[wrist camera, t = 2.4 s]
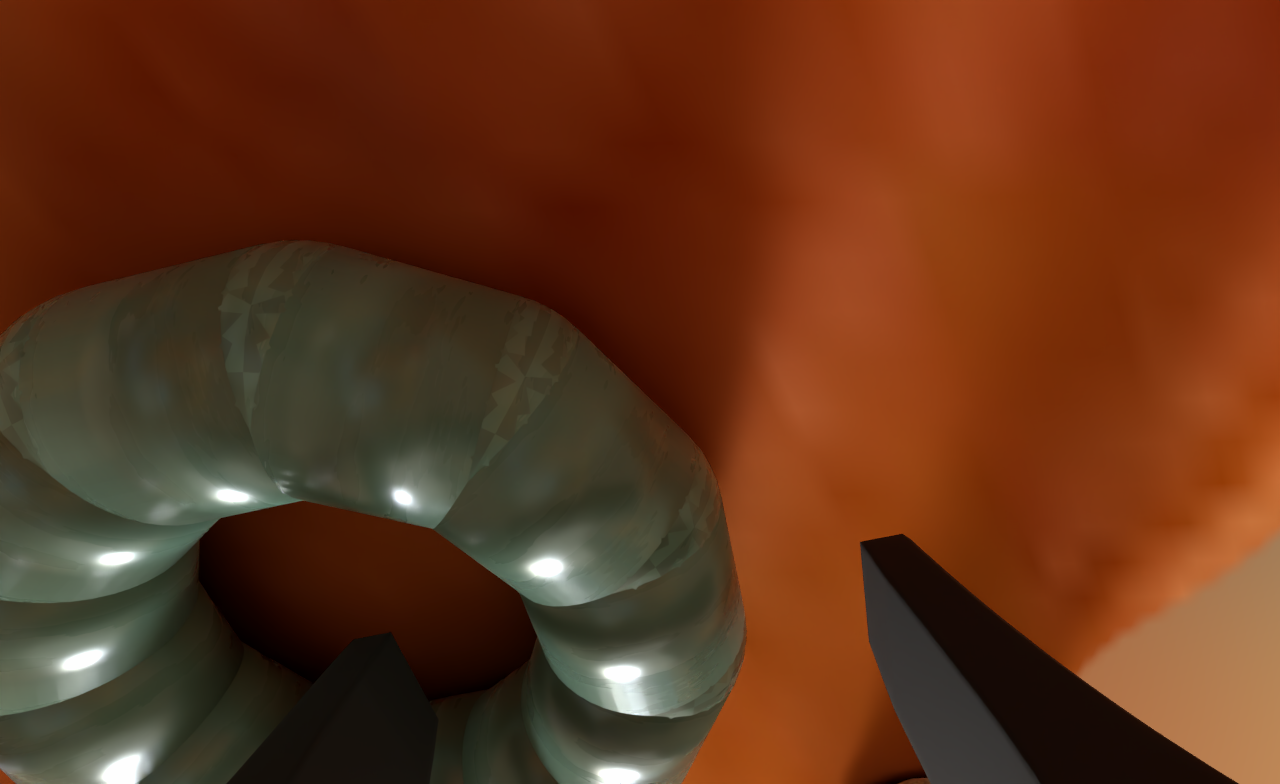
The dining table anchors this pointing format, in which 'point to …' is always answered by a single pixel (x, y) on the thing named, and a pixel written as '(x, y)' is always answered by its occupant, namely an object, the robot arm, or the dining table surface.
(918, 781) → the sprinkles bottle
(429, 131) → the dining table surface
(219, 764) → the ring
